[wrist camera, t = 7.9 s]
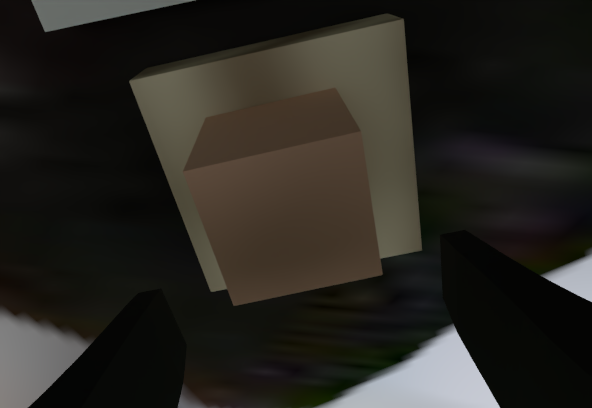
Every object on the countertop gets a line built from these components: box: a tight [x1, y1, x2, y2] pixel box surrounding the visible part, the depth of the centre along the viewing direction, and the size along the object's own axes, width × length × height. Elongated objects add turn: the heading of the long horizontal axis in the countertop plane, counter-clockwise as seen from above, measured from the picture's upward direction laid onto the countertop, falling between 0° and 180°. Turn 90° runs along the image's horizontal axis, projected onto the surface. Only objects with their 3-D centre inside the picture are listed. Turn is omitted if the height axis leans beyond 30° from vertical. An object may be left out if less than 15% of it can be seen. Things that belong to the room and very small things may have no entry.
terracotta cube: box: [183, 88, 383, 306], centre depth 15 cm, size 5×5×5 cm
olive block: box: [129, 13, 422, 292], centre depth 19 cm, size 10×10×3 cm
